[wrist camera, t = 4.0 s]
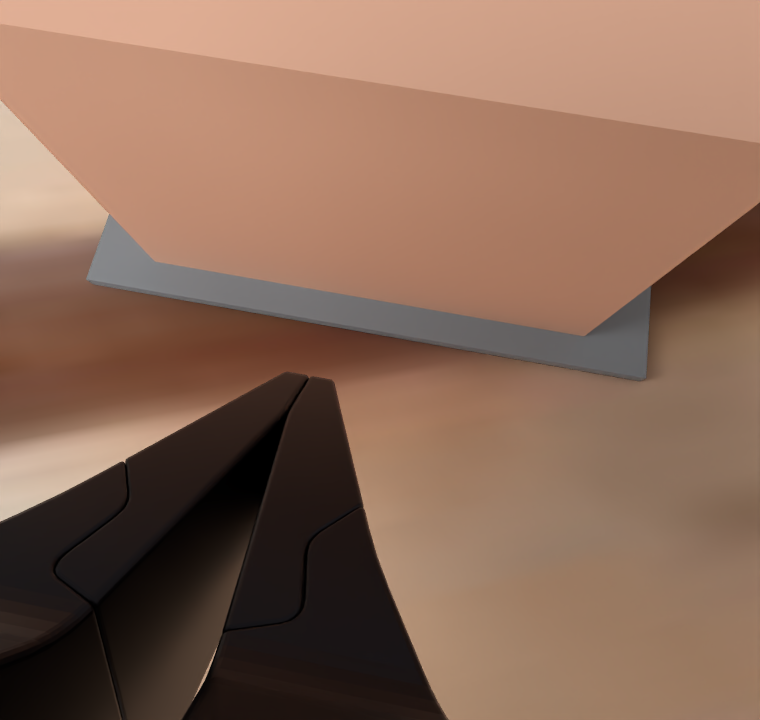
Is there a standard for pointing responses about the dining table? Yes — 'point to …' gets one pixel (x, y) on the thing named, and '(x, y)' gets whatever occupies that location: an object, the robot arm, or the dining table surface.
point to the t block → (405, 139)
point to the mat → (380, 313)
